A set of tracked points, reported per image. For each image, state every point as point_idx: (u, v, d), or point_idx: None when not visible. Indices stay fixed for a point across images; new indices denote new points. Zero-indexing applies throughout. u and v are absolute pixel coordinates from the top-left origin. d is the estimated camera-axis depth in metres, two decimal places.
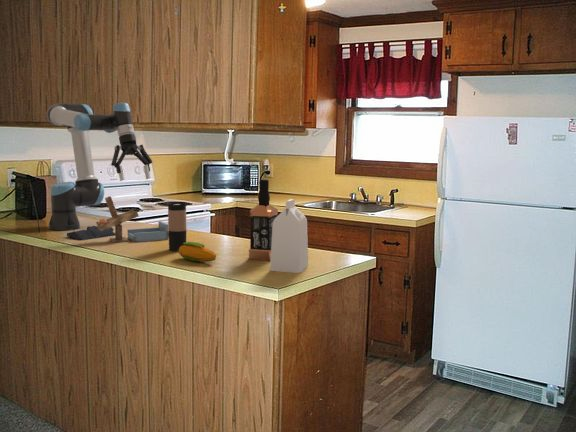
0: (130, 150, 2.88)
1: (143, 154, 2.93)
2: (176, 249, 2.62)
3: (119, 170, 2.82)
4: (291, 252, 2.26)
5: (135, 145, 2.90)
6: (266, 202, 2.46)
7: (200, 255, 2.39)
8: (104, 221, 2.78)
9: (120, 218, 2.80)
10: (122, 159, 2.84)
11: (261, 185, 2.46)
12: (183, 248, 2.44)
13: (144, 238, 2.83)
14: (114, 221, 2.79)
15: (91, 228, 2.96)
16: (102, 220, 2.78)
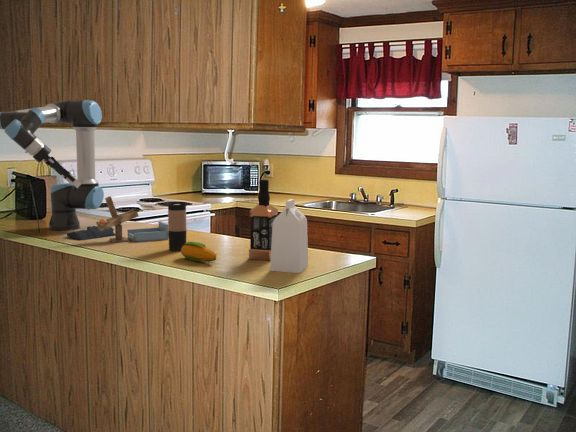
0: (50, 164, 2.70)
1: None
2: (176, 249, 2.62)
3: None
4: (291, 252, 2.26)
5: (46, 160, 2.66)
6: (266, 202, 2.46)
7: (201, 254, 2.39)
8: (104, 221, 2.78)
9: (120, 218, 2.80)
10: (56, 171, 2.75)
11: (261, 185, 2.46)
12: (185, 248, 2.45)
13: (144, 238, 2.83)
14: (114, 221, 2.79)
15: (91, 228, 2.96)
16: (102, 220, 2.78)
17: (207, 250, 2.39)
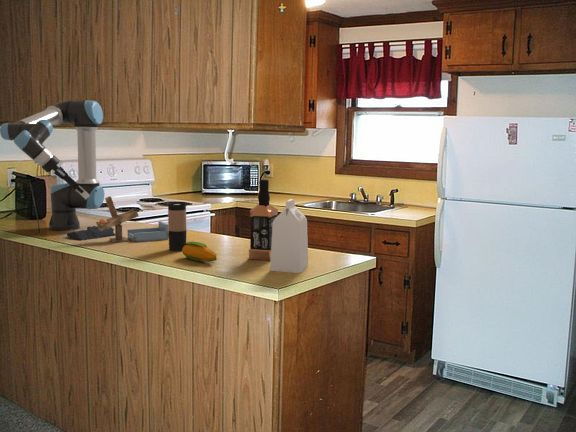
0: None
1: None
2: (176, 249, 2.62)
3: None
4: (291, 252, 2.26)
5: (55, 171, 2.67)
6: (266, 202, 2.46)
7: (201, 254, 2.39)
8: (104, 221, 2.78)
9: (120, 218, 2.80)
10: (67, 183, 2.74)
11: (261, 185, 2.46)
12: (186, 247, 2.45)
13: (144, 238, 2.83)
14: (114, 221, 2.79)
15: (91, 228, 2.96)
16: (102, 220, 2.78)
17: (207, 250, 2.39)
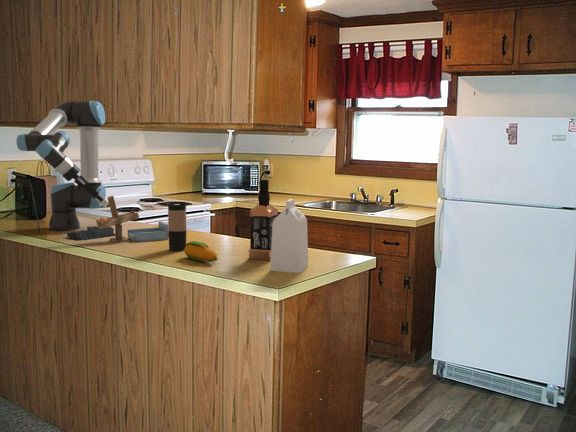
0: None
1: None
2: (176, 249, 2.62)
3: None
4: (291, 252, 2.26)
5: (76, 179, 2.72)
6: (266, 202, 2.46)
7: (202, 254, 2.39)
8: (104, 220, 2.78)
9: (120, 218, 2.80)
10: (87, 191, 2.79)
11: (261, 185, 2.46)
12: (187, 247, 2.46)
13: (144, 238, 2.83)
14: (114, 220, 2.79)
15: (91, 228, 2.96)
16: (102, 218, 2.78)
17: (208, 250, 2.39)
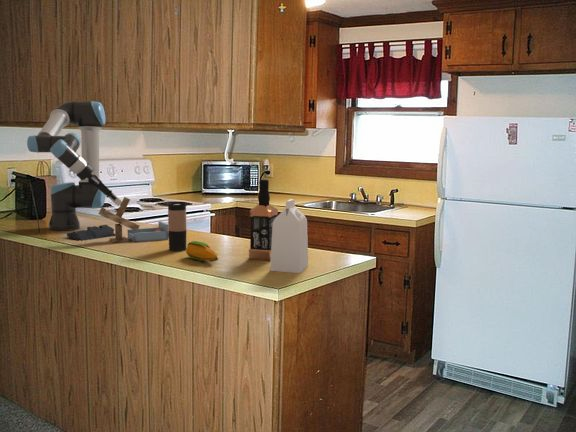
0: None
1: None
2: (176, 249, 2.62)
3: None
4: (291, 252, 2.26)
5: (90, 179, 2.75)
6: (266, 202, 2.46)
7: (202, 254, 2.40)
8: None
9: (123, 219, 2.81)
10: (101, 190, 2.82)
11: (261, 185, 2.46)
12: (189, 247, 2.46)
13: (144, 238, 2.83)
14: (117, 217, 2.79)
15: (91, 229, 2.95)
16: None
17: (208, 250, 2.39)
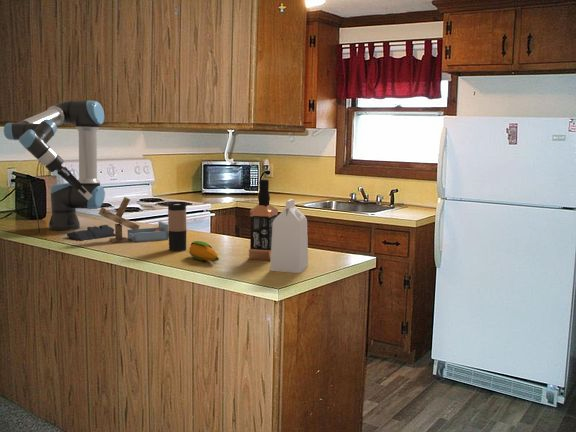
0: None
1: None
2: (176, 249, 2.62)
3: None
4: (291, 252, 2.26)
5: (59, 170, 2.68)
6: (266, 202, 2.46)
7: (203, 254, 2.40)
8: None
9: (123, 219, 2.81)
10: (70, 183, 2.75)
11: (261, 185, 2.46)
12: (191, 247, 2.47)
13: (144, 238, 2.83)
14: (117, 217, 2.79)
15: (91, 229, 2.95)
16: None
17: (209, 250, 2.39)
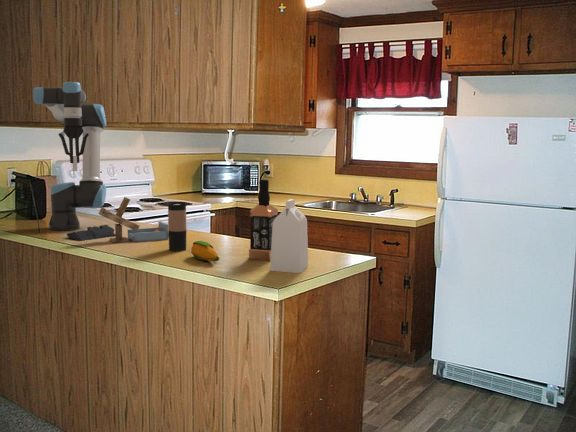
0: (73, 134, 2.73)
1: (82, 142, 2.77)
2: (176, 249, 2.62)
3: (72, 160, 2.75)
4: (291, 252, 2.26)
5: (81, 129, 2.75)
6: (266, 202, 2.46)
7: (203, 254, 2.40)
8: None
9: (123, 219, 2.81)
10: (72, 147, 2.74)
11: (261, 185, 2.46)
12: (193, 246, 2.48)
13: (144, 238, 2.83)
14: (117, 217, 2.79)
15: (91, 229, 2.95)
16: None
17: (209, 250, 2.39)
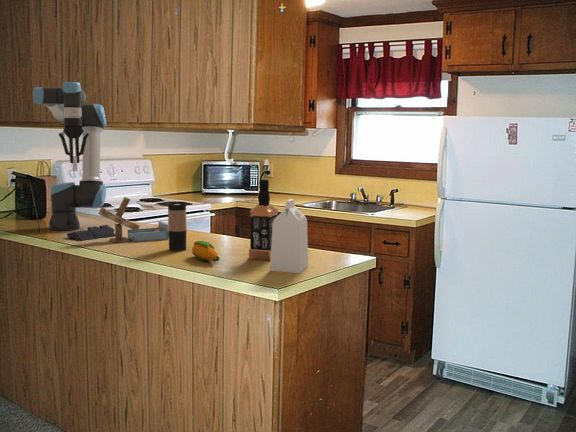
0: (73, 134, 2.73)
1: (82, 142, 2.77)
2: (176, 249, 2.62)
3: (72, 160, 2.75)
4: (291, 252, 2.26)
5: (81, 129, 2.75)
6: (266, 202, 2.46)
7: (204, 254, 2.40)
8: None
9: (123, 219, 2.81)
10: (72, 147, 2.74)
11: (261, 185, 2.46)
12: (194, 246, 2.48)
13: (144, 238, 2.83)
14: (117, 217, 2.79)
15: (91, 229, 2.95)
16: None
17: (209, 250, 2.39)
